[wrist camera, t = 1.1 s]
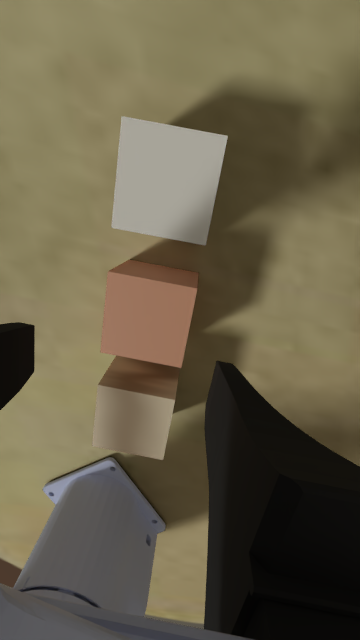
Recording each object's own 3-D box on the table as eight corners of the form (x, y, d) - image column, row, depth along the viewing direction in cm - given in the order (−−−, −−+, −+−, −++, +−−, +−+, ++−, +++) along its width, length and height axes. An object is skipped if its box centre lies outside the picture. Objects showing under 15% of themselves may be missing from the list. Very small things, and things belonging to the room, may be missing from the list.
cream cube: (221, 157, 17) (228, 135, 13) (204, 239, 19) (205, 245, 14) (142, 142, 17) (121, 116, 13) (133, 225, 19) (111, 227, 14)
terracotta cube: (198, 272, 20) (197, 288, 15) (185, 336, 21) (181, 368, 17) (129, 259, 20) (107, 271, 15) (122, 324, 21) (100, 352, 17)
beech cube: (180, 362, 22) (175, 400, 18) (170, 414, 24) (163, 460, 19) (119, 350, 22) (97, 384, 18) (113, 402, 24) (92, 446, 19)
